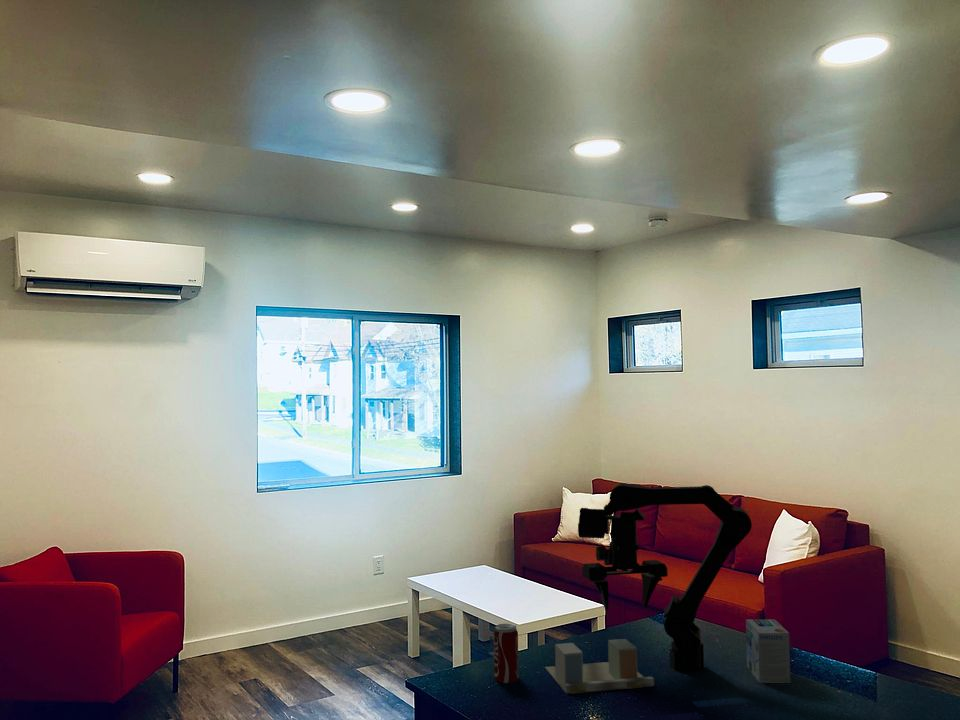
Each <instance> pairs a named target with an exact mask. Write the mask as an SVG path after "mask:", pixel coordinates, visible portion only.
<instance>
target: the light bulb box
mask: <svg viewBox="0 0 960 720" xmlns="http://www.w3.org/2000/svg"><path fill="white" fill-rule="evenodd" d="M745 631H746V633H745V634H746V637H745V638H746V639H745V640H746V667H747V668H748V671H750V673H751V674H752V675H753V676H755V677H754V678H755V680H756V681H757V680H758V681H759V682H761V683H762V684H763V683H791V656H790V633H789V631H787V630H786V629H785V628H784V626H782V625H781V624H780V623H779V622H778V621H777V620H776V619H771V618H770V619H745ZM758 681H757V682H758ZM759 682H758V683H759ZM761 683H760V684H761Z"/></svg>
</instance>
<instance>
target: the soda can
mask: <svg viewBox="0 0 960 720" xmlns="http://www.w3.org/2000/svg"><path fill="white" fill-rule="evenodd" d="M518 632H519V631H518V630H517V626H516V625H515V624H513V623H499V624H496V625H495V629H494V631H493V670H494V671H493V675H494V676H493V680H494V681H496V682H498V683H502V684H510V683H512V684H513V683H516V682H517V681H518V680H519V633H518Z"/></svg>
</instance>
